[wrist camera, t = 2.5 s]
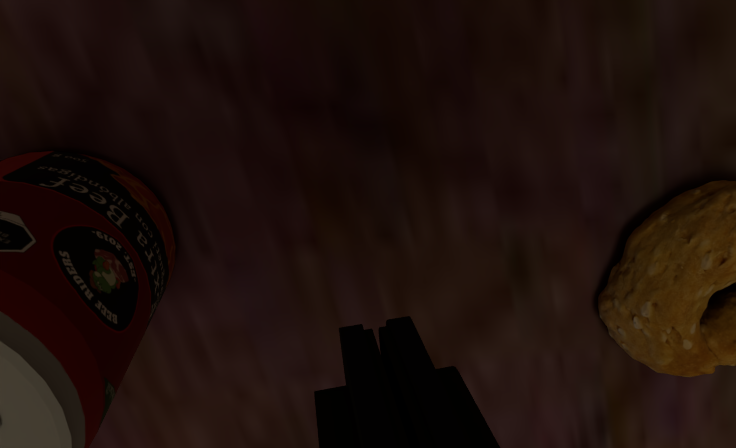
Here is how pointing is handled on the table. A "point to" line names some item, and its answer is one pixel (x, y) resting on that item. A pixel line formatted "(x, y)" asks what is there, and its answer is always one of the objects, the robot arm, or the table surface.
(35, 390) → the canned food
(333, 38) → the table surface
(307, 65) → the table surface
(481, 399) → the table surface
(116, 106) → the table surface
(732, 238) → the bagel
